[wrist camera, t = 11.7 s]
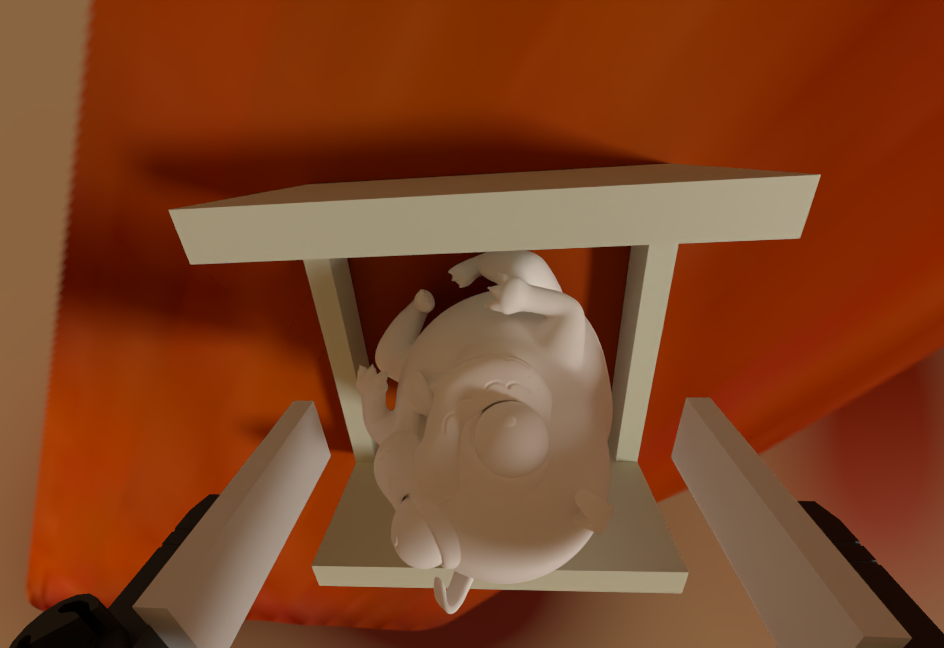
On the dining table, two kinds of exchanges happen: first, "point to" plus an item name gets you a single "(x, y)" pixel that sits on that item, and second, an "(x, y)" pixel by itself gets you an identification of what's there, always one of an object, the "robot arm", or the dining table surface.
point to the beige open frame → (504, 229)
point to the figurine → (492, 428)
